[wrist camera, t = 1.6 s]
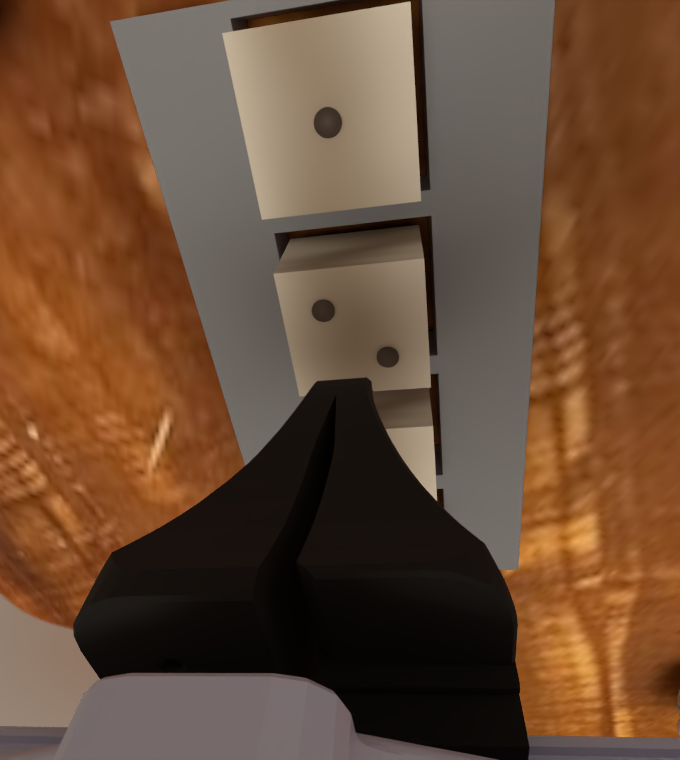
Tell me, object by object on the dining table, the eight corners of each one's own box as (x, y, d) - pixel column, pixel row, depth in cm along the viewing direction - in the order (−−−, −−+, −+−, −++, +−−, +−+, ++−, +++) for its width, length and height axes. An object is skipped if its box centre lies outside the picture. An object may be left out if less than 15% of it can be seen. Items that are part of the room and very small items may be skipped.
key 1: (406, 7, 15) (410, 1, 12) (415, 175, 17) (421, 202, 14) (251, 33, 15) (220, 33, 12) (281, 191, 18) (260, 220, 15)
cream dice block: (419, 224, 18) (424, 259, 15) (425, 340, 20) (431, 389, 17) (290, 239, 18) (272, 275, 16) (311, 349, 21) (298, 398, 18)
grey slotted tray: (539, -48, 15) (559, -58, 13) (510, 537, 28) (518, 569, 26) (138, 23, 17) (110, 21, 15) (284, 543, 29) (278, 574, 28)
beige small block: (427, 376, 21) (433, 428, 18) (432, 460, 23) (437, 518, 21) (317, 384, 22) (307, 435, 19) (333, 465, 24) (325, 522, 21)
